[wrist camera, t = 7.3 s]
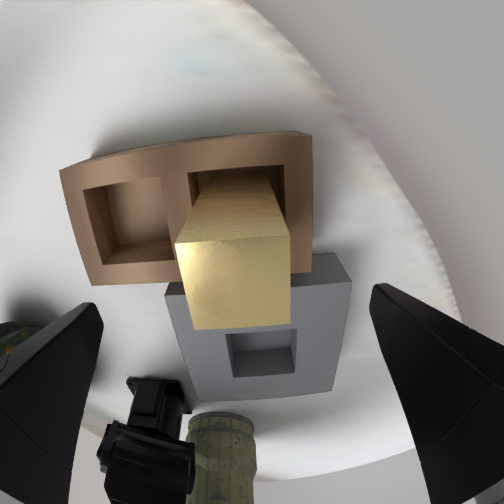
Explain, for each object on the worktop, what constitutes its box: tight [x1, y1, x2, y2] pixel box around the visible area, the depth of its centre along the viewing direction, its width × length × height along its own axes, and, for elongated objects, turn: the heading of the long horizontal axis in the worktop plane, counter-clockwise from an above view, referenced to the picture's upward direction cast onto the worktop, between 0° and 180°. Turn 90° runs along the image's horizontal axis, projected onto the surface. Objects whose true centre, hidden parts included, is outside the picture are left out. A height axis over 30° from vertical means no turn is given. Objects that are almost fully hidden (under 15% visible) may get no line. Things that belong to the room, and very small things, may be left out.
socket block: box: [164, 253, 352, 401], centre depth 22 cm, size 12×12×4 cm
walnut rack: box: [59, 131, 313, 286], centre depth 17 cm, size 14×8×4 cm, turn 94°
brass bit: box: [175, 171, 290, 330], centre depth 14 cm, size 3×3×10 cm
